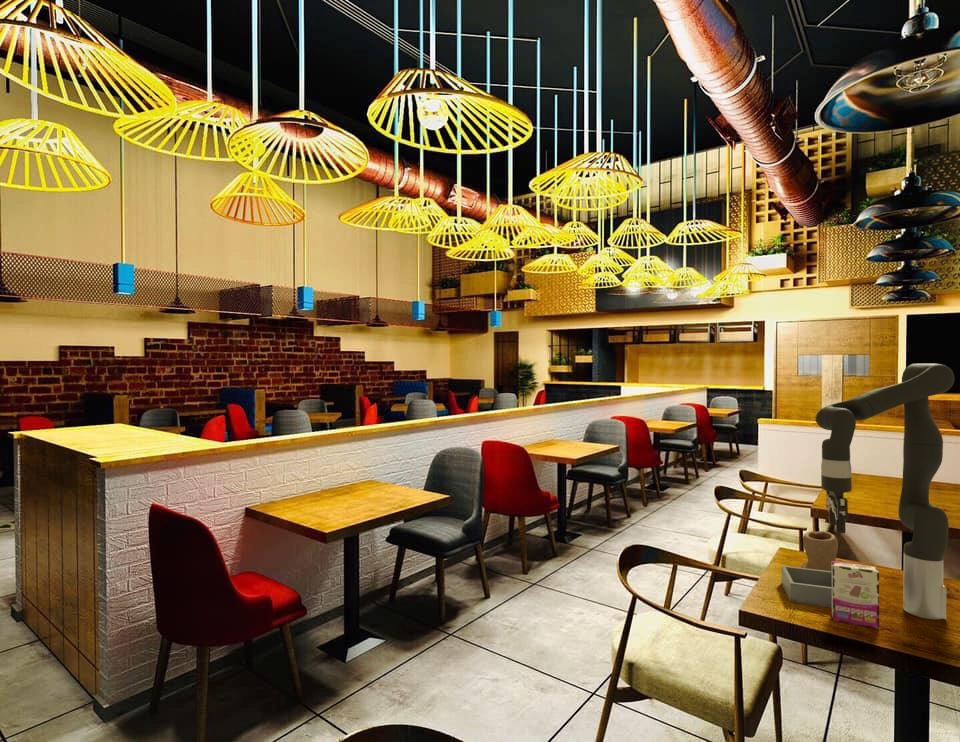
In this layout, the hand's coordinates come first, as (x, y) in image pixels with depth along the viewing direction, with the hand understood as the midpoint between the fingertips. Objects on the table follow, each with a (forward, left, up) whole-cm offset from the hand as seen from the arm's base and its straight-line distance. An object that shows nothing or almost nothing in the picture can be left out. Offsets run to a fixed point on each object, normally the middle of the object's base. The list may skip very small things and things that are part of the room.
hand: (837, 528), depth 159 cm
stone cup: (-5, -35, -26) cm, 44 cm away
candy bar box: (-4, +3, -26) cm, 27 cm away
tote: (+3, -13, -26) cm, 29 cm away
